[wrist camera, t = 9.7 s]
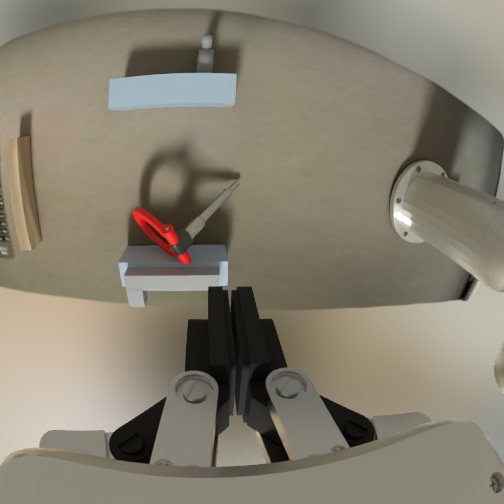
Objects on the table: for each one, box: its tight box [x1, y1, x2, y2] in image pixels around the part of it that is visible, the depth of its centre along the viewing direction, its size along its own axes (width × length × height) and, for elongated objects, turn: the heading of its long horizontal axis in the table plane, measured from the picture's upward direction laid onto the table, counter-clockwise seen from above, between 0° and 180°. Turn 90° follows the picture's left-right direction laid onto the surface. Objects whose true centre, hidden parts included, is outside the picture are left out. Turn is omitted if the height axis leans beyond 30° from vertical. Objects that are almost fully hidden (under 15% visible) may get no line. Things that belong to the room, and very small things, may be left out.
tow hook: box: [133, 181, 240, 265], centre depth 29 cm, size 7×10×7 cm
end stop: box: [6, 136, 42, 250], centre depth 24 cm, size 2×14×3 cm, turn 176°
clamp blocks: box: [108, 34, 237, 307], centre depth 26 cm, size 12×28×6 cm, turn 176°
